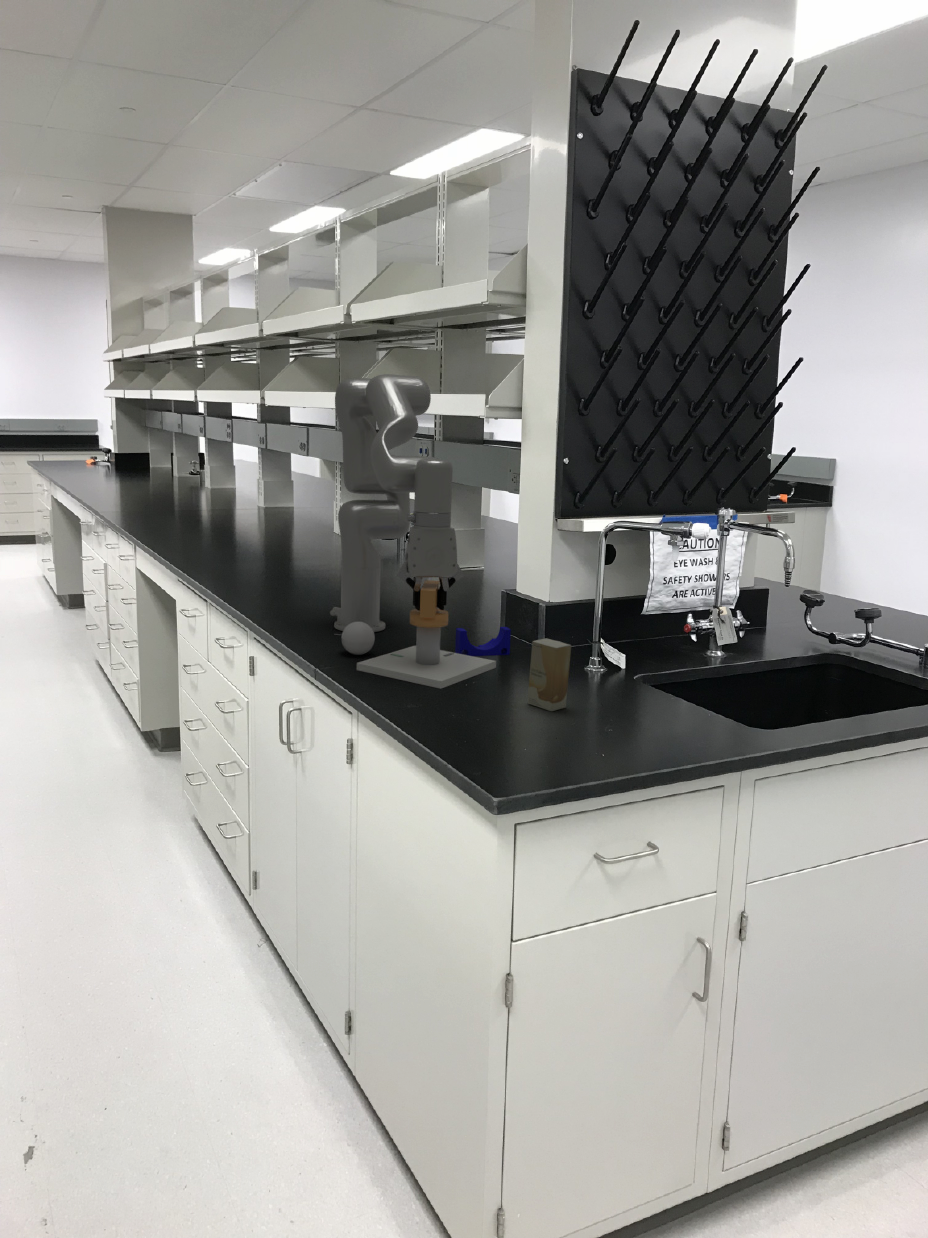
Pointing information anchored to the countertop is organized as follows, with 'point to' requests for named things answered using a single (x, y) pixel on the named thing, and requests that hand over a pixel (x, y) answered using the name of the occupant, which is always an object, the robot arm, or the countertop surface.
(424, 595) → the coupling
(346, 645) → the white ball
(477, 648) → the cable clip
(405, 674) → the coupling base
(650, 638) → the countertop surface
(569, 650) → the skincare box
